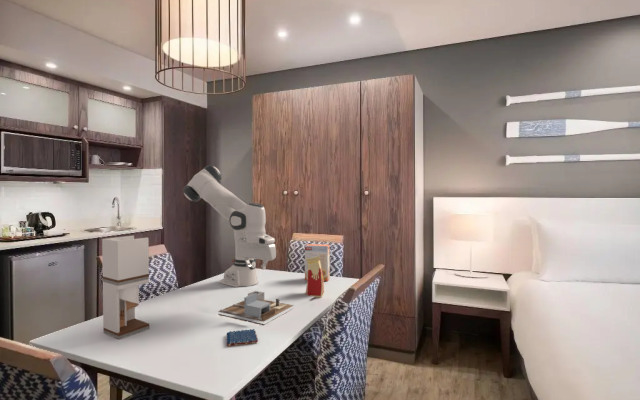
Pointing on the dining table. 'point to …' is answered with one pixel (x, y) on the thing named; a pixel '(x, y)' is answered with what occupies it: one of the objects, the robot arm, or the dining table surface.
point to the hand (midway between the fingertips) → (256, 268)
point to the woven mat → (241, 337)
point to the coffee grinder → (123, 284)
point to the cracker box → (324, 254)
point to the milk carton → (315, 278)
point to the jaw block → (258, 295)
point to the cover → (255, 306)
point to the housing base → (274, 310)
